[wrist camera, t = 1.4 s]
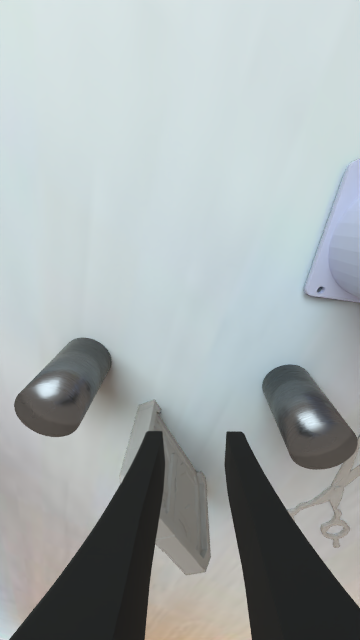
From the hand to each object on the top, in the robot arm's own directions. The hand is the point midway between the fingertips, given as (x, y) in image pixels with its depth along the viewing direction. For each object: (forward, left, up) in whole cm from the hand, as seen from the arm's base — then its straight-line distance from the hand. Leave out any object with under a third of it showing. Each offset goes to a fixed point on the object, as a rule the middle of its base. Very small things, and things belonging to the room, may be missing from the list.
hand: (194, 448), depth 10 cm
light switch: (0, +12, -10) cm, 15 cm away
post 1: (+9, +3, -9) cm, 13 cm away
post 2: (-8, +3, -9) cm, 13 cm away
